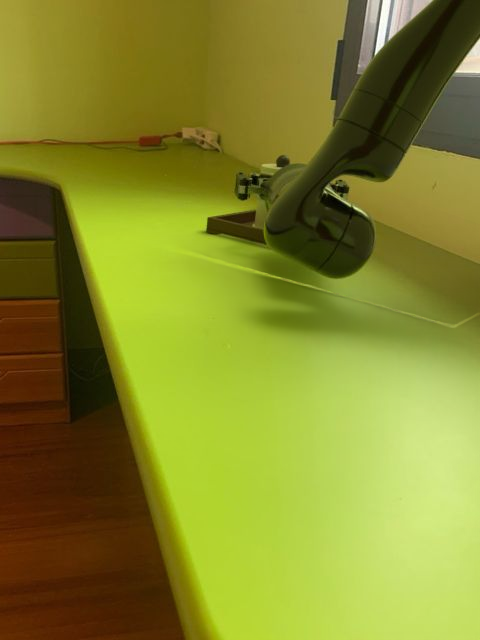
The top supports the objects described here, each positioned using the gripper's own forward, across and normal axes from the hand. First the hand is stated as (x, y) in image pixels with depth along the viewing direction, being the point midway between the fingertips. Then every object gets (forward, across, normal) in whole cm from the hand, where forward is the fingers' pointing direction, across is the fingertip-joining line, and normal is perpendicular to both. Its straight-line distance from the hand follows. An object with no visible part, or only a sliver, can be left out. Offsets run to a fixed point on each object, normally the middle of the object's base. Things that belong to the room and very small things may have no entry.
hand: (285, 181), depth 95 cm
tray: (+6, 0, +9) cm, 11 cm away
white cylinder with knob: (+6, 0, +8) cm, 10 cm away
